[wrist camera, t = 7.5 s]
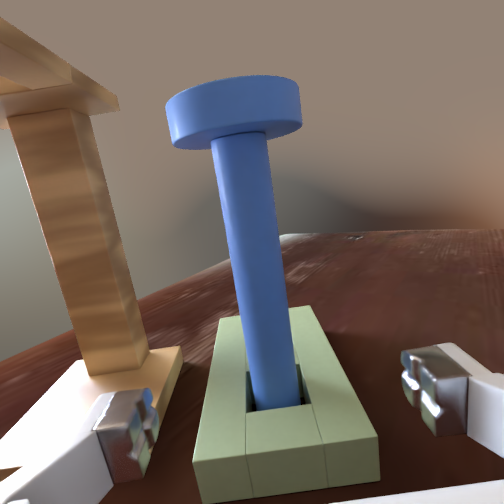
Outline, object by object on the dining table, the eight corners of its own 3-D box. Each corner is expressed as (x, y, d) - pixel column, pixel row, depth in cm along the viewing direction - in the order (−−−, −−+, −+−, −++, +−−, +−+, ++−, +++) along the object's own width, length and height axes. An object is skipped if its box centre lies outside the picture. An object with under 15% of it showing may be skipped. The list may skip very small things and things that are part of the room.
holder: (312, 330, 27) (309, 305, 26) (381, 481, 13) (378, 436, 13) (224, 342, 27) (219, 318, 26) (202, 505, 13) (191, 462, 13)
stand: (137, 493, 14) (-15, -2, 10) (-41, 517, 14) (-279, 41, 10) (183, 360, 25) (123, 96, 20) (81, 375, 25) (-4, 116, 20)
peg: (259, 379, 21) (217, 122, 17) (343, 398, 18) (316, 93, 14) (210, 447, 16) (134, 108, 12) (315, 490, 13) (260, 59, 9)
